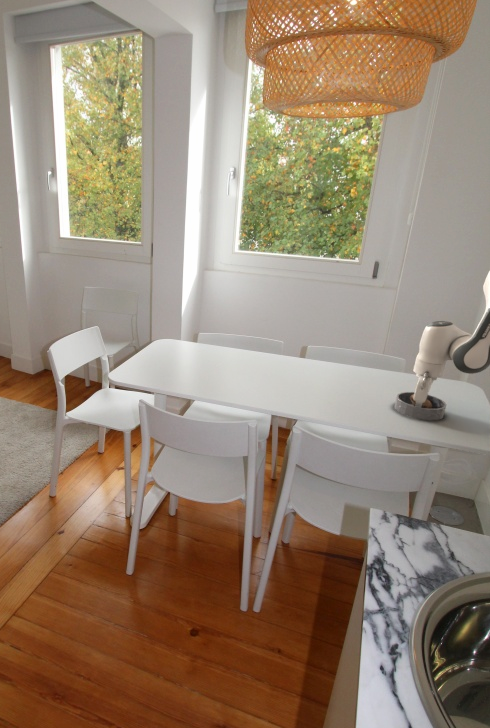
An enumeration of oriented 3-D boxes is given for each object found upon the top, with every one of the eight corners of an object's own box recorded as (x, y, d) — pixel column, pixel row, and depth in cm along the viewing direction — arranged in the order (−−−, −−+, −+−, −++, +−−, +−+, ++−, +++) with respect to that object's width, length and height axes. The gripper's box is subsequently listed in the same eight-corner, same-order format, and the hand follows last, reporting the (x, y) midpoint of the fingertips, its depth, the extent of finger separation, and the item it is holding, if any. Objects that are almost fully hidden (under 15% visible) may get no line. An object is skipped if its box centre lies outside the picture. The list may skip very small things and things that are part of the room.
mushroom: (404, 404, 162) (418, 390, 161) (401, 403, 170) (413, 390, 168) (424, 419, 160) (438, 406, 159) (420, 418, 168) (433, 405, 166)
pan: (444, 410, 167) (447, 398, 165) (440, 425, 155) (444, 413, 154) (398, 399, 175) (400, 388, 173) (390, 413, 163) (393, 402, 162)
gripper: (436, 379, 150) (425, 417, 155) (442, 362, 165) (432, 398, 170) (414, 374, 153) (404, 412, 158) (421, 359, 169) (413, 394, 174)
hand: (419, 405), depth 164 cm, fingers closed on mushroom, 7 cm apart
